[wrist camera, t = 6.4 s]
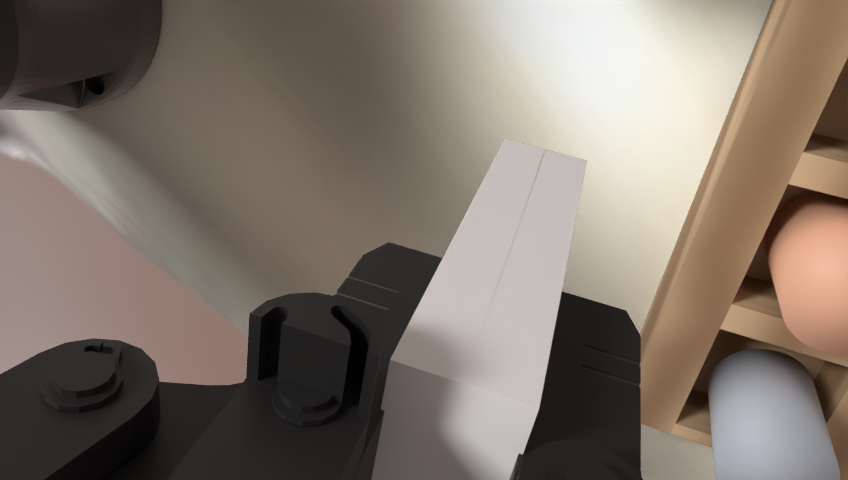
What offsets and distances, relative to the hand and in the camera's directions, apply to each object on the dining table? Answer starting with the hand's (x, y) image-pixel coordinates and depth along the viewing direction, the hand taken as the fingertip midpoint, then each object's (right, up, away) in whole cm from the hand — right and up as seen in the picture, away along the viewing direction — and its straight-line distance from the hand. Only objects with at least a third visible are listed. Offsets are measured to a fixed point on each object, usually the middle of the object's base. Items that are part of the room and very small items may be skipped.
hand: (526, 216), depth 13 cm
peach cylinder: (+17, 0, +20) cm, 27 cm away
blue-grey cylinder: (+16, -8, +23) cm, 29 cm away
